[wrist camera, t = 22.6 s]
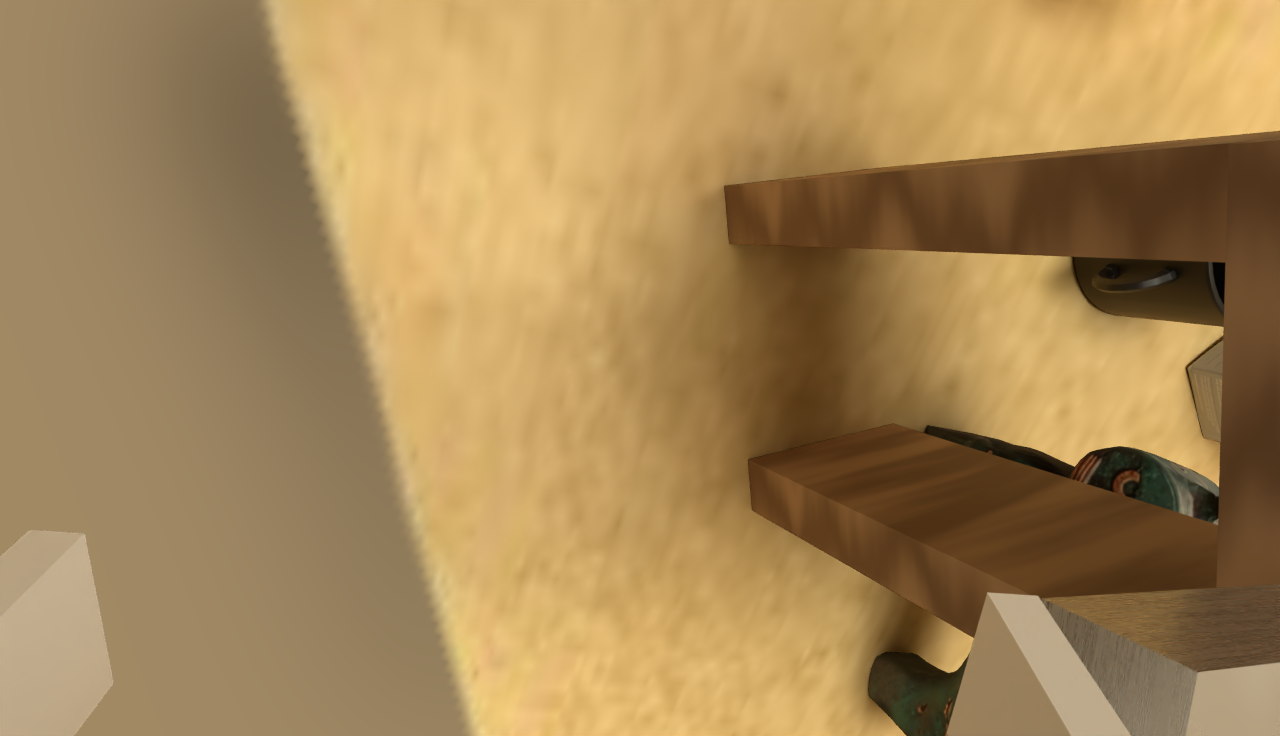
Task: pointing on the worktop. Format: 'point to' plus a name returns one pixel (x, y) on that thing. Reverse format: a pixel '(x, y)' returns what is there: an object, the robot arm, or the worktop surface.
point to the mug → (1155, 288)
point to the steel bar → (1182, 657)
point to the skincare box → (1208, 390)
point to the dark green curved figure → (929, 693)
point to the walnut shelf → (1007, 490)
